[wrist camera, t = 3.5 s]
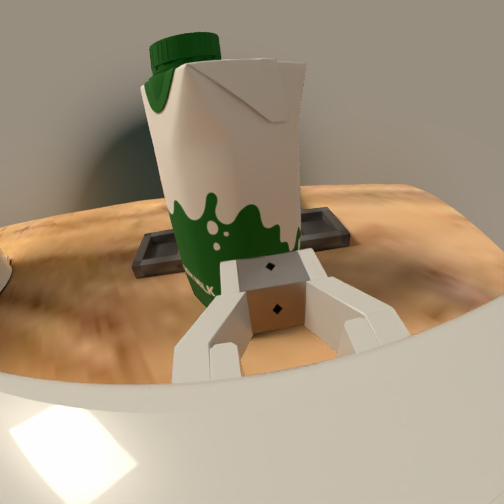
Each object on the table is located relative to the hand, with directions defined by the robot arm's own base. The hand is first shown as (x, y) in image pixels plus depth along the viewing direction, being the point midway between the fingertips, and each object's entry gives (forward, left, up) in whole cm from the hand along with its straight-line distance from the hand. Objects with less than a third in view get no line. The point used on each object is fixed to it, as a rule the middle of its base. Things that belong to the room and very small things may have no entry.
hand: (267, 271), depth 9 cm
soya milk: (-1, +11, -11) cm, 15 cm away
